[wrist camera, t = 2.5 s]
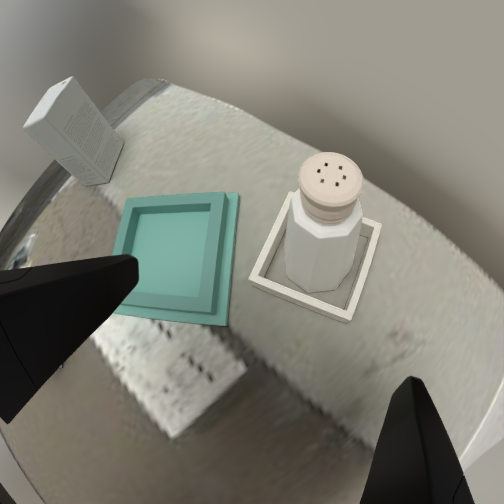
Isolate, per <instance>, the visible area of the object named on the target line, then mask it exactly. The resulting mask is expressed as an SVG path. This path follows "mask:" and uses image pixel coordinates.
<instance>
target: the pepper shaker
mask: <svg viewBox="0 0 504 504" xmlns="http://www.w3.org/2000/svg"><path fill="white" fill-rule="evenodd" d="M298 181H299V187H300V188H299V189H298V190H297V191H296V192H295V193H294V194H293V195H292V196H291V200H290V205H289V213H288V221H287V228H286V236H285V243H284V259H285V268H286V276H287V277H288V278H289V279H291V280H292V281H293V282H295V283H296V284H297V285H298V286H300V287H301V288H302V289H303V290H305V291H306V292H307V293H313V292H321V291H329V290H336V289H337V287H338V286H339V285H340V283H341V282H342V281H343V279H344V278H345V277H346V275H347V274H348V273H349V271H350V270H351V268H352V265H353V261H354V256H355V252H356V248H357V243H358V239H359V234H360V230H361V225H362V218H363V213H362V209H361V206H360V202H359V198H358V197H359V196H360V194H361V192H362V189H363V176H362V173H361V171H360V169H359V168H358V166H357V165H356V164H355V163H354V162H353V161H352V160H351V159H349V158H347V157H346V156H344V155H341V154H338V153H332V152H323V153H319V154H315V155H313V156H311V157H309V158H308V159H306V160H305V162H304V163H303V164H302V165H301V167H300V169H299V173H298Z"/></svg>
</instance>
